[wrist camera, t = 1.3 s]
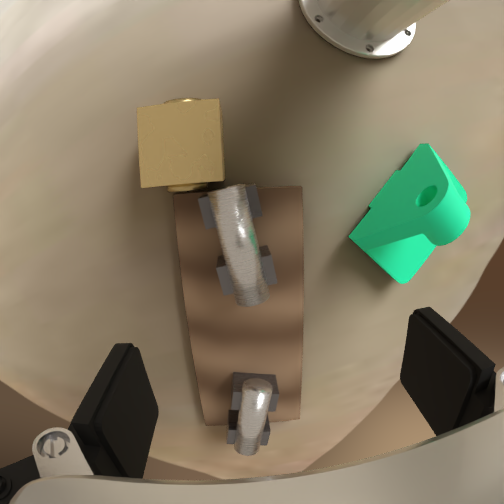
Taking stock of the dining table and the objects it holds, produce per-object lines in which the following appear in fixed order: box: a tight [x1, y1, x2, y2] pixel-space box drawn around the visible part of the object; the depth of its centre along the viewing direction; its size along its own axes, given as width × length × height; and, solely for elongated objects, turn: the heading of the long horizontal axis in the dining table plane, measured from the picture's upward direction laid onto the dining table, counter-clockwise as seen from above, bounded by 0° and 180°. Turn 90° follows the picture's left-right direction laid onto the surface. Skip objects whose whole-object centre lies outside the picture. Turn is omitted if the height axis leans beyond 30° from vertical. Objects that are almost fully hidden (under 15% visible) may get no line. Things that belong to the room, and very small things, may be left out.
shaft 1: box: [198, 183, 277, 307], centre depth 26 cm, size 9×4×5 cm, turn 13°
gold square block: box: [137, 98, 225, 192], centre depth 24 cm, size 7×6×6 cm
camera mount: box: [348, 144, 470, 284], centre depth 25 cm, size 12×8×10 cm, turn 142°
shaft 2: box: [227, 372, 279, 456], centre depth 30 cm, size 9×4×5 cm, turn 173°
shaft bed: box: [173, 186, 304, 426], centre depth 31 cm, size 26×11×2 cm, turn 3°
